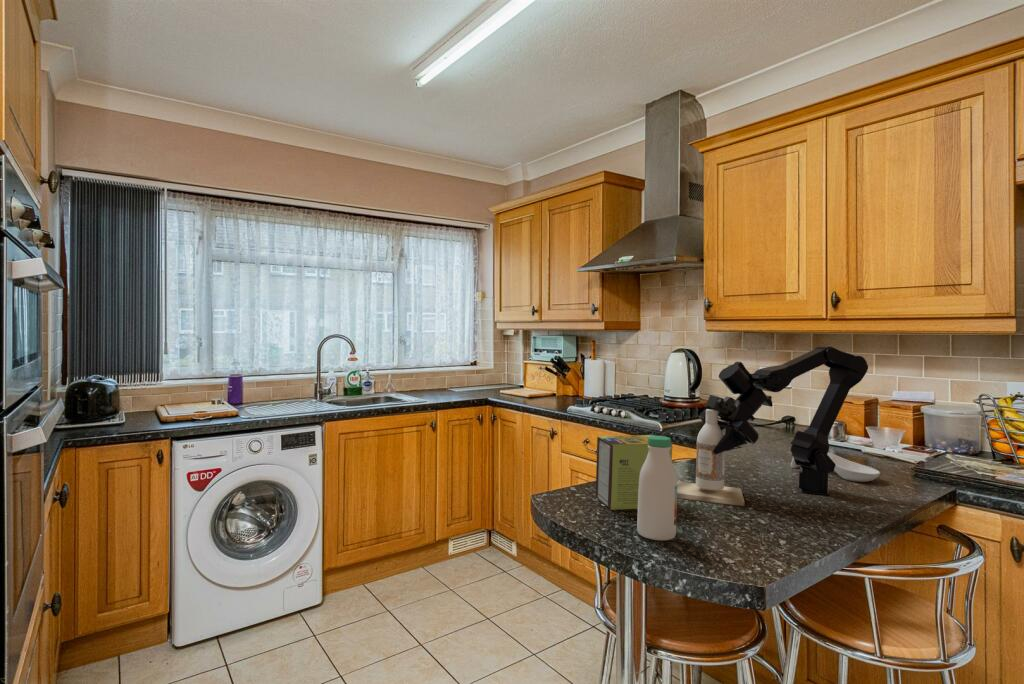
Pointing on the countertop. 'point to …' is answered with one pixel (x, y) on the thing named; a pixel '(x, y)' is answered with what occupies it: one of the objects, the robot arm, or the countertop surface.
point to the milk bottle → (657, 492)
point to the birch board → (710, 494)
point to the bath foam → (710, 454)
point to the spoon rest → (850, 469)
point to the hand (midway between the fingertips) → (706, 449)
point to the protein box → (620, 469)
